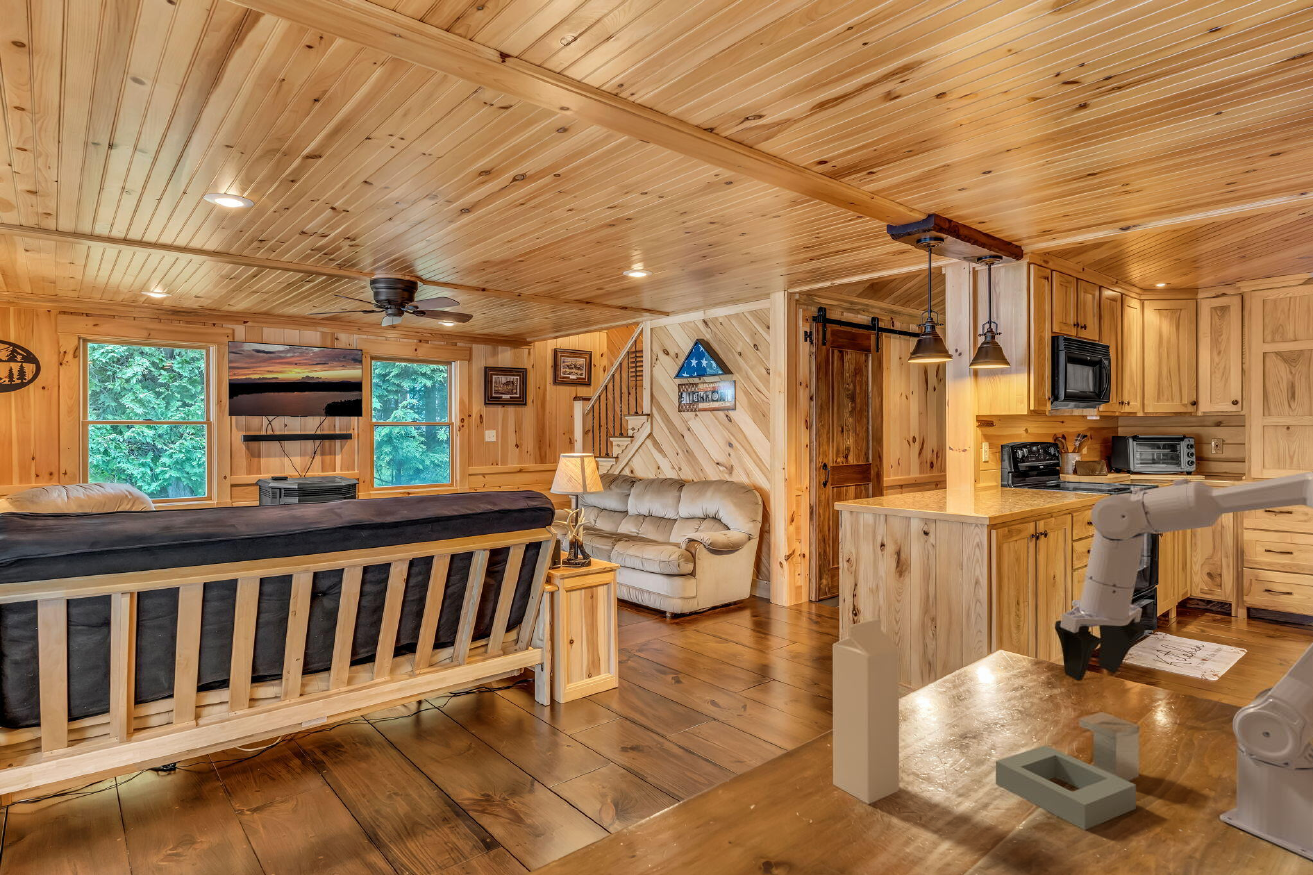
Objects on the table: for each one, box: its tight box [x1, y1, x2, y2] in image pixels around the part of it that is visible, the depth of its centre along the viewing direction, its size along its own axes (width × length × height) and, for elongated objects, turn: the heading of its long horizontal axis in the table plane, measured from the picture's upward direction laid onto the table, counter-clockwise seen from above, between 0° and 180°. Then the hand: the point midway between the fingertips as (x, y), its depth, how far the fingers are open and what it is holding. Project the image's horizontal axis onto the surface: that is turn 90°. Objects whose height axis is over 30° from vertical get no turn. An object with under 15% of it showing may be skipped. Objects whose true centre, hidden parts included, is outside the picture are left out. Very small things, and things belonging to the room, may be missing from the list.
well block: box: [995, 744, 1137, 831], centre depth 91 cm, size 12×10×3 cm
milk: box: [832, 618, 900, 805], centre depth 93 cm, size 6×6×22 cm
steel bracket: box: [1078, 711, 1140, 782], centre depth 97 cm, size 5×5×7 cm
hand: (1090, 673), depth 99 cm, fingers open, 7 cm apart
